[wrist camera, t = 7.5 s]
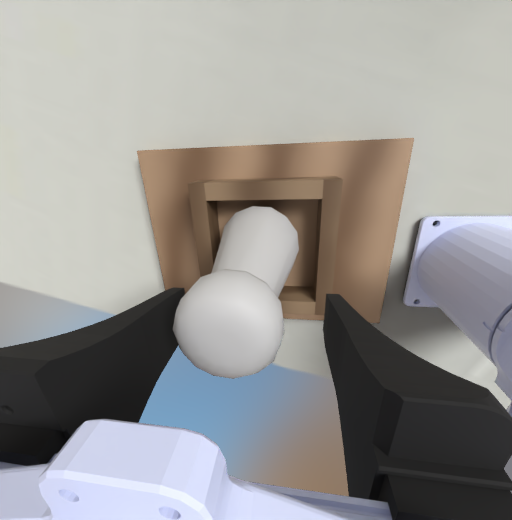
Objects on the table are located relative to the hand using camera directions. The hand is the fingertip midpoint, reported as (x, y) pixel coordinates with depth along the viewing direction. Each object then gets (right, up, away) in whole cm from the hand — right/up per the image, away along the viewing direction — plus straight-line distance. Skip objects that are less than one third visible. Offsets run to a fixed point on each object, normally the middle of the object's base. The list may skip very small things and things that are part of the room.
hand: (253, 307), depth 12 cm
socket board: (+1, +4, +9) cm, 10 cm away
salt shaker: (+1, +4, +8) cm, 9 cm away
